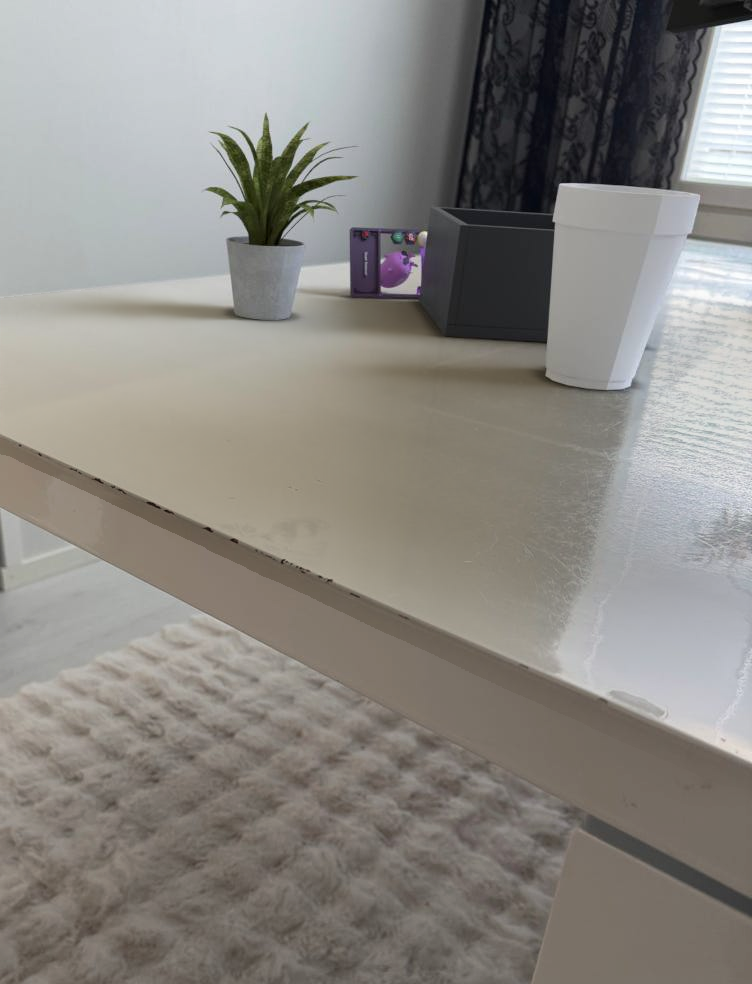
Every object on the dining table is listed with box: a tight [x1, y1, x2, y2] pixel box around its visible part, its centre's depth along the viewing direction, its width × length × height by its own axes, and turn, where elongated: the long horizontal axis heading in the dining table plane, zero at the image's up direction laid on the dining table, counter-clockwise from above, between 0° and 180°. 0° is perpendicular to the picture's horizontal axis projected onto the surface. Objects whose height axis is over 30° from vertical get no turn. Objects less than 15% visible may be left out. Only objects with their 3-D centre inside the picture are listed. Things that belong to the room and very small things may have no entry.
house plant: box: [201, 111, 359, 321], centre depth 82 cm, size 14×14×16 cm
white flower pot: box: [544, 182, 702, 391], centre depth 69 cm, size 10×9×13 cm
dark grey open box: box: [418, 206, 555, 343], centre depth 89 cm, size 18×18×9 cm
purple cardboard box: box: [349, 226, 428, 299], centre depth 101 cm, size 7×5×9 cm
